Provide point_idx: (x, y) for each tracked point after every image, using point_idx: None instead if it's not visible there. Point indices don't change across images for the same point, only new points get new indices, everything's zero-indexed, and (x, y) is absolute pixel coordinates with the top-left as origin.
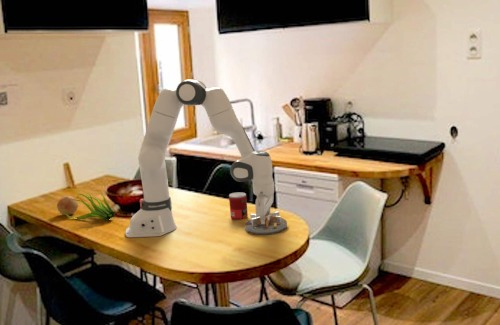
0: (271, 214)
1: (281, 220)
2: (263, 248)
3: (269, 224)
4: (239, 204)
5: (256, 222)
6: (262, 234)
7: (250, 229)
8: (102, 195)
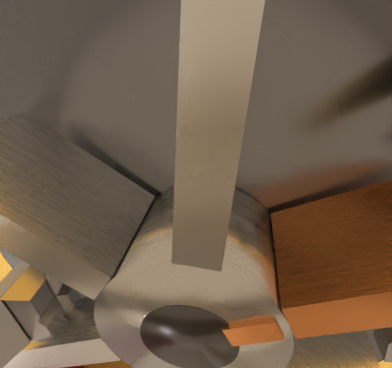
0: (97, 260)
1: (46, 67)
2: None
3: (250, 192)
4: None
5: (343, 353)
6: None
7: None
8: None
